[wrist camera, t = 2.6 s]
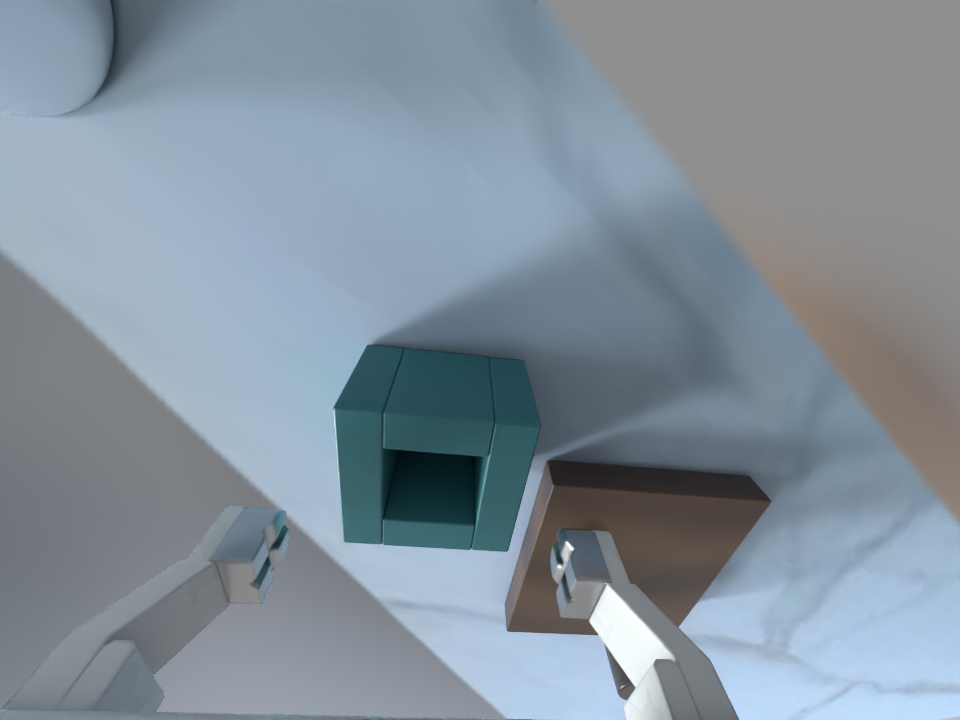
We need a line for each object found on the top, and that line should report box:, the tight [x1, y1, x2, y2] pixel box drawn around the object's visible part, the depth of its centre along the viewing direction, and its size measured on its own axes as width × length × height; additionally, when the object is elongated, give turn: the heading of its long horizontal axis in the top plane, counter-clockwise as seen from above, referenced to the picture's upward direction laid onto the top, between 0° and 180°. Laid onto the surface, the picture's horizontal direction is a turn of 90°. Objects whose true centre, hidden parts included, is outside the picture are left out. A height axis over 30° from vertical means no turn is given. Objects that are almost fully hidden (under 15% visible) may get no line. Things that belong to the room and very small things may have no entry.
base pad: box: [505, 460, 771, 700], centre depth 18 cm, size 12×10×6 cm
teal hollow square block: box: [333, 345, 541, 552], centre depth 14 cm, size 6×6×4 cm
